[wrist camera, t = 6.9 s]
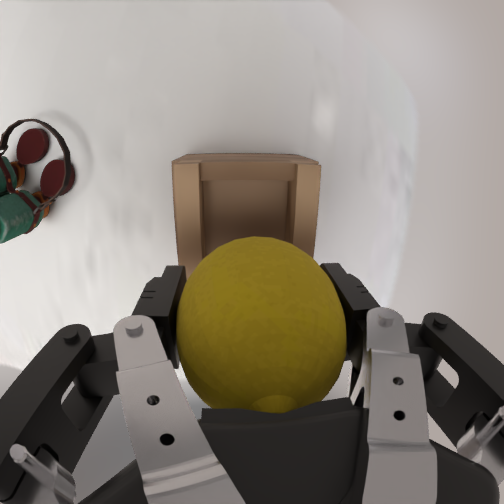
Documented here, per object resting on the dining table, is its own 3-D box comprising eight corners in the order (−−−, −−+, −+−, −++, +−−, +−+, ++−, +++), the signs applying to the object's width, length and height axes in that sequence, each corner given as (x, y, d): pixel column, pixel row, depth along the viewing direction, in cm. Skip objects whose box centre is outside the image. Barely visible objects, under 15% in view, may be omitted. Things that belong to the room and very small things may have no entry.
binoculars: (39, 172, 12) (-19, 278, 13) (100, 162, 22) (42, 235, 23) (-17, 87, 9) (-68, 196, 10) (50, 101, 19) (-2, 177, 20)
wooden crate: (186, 154, 22) (162, 165, 14) (297, 154, 22) (331, 166, 15) (191, 256, 25) (176, 310, 17) (291, 255, 26) (315, 307, 18)
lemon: (331, 247, 13) (425, 370, 6) (269, 332, 15) (296, 471, 7) (226, 187, 12) (221, 287, 4) (172, 290, 13) (131, 437, 6)
